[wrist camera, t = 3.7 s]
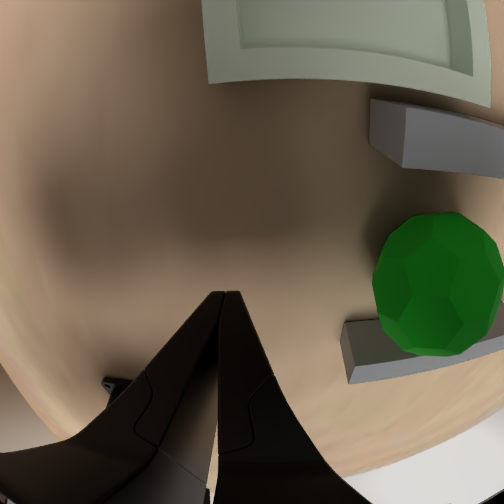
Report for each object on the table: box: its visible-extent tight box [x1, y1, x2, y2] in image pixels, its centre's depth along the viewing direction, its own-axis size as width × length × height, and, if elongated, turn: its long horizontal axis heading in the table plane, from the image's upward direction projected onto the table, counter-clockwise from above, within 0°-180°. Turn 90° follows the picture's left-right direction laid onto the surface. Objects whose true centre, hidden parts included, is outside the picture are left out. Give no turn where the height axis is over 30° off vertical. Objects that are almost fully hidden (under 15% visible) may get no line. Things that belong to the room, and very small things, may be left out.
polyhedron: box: [372, 212, 504, 357], centre depth 8 cm, size 5×5×5 cm
